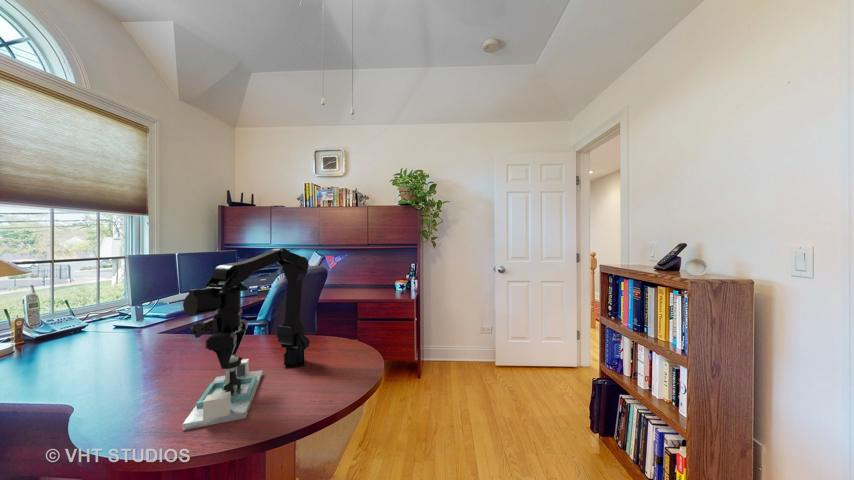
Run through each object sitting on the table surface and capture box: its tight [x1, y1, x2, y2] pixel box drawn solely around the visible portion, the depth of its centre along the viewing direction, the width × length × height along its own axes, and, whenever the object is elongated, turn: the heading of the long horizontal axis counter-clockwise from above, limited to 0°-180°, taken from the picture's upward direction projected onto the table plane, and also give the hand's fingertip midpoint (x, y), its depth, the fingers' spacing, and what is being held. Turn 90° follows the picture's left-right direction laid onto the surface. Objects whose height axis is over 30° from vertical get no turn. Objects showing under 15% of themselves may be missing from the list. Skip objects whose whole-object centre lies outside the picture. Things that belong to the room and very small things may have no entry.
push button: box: [221, 354, 243, 393], centre depth 84 cm, size 7×5×10 cm
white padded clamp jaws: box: [203, 358, 250, 420], centre depth 84 cm, size 5×26×4 cm, turn 21°
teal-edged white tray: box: [182, 370, 263, 431], centre depth 84 cm, size 13×26×3 cm, turn 21°
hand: (228, 362), depth 84 cm, fingers open, 9 cm apart
